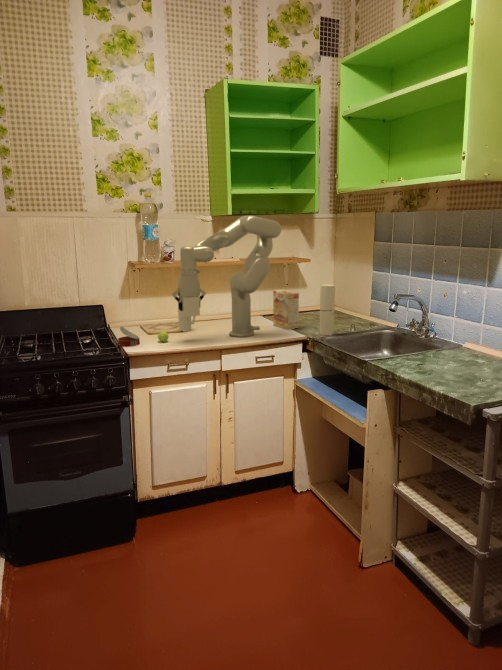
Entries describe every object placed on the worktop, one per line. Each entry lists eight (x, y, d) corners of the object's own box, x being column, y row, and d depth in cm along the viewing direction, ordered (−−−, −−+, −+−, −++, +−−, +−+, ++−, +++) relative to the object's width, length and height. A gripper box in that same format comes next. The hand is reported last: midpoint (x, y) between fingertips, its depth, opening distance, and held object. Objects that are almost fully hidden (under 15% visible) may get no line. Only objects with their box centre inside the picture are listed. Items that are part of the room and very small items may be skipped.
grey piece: (194, 312, 251) (194, 294, 249) (199, 315, 244) (199, 297, 242) (179, 313, 248) (178, 295, 246) (184, 316, 241) (183, 298, 239)
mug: (183, 332, 266) (182, 309, 264) (176, 330, 271) (175, 308, 269) (199, 329, 273) (198, 307, 270) (192, 327, 278) (191, 306, 275)
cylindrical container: (316, 333, 263) (317, 284, 257) (328, 332, 265) (330, 283, 260) (323, 336, 256) (325, 286, 251) (336, 334, 259) (337, 285, 253)
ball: (167, 340, 250) (166, 330, 249) (169, 342, 245) (169, 332, 244) (157, 341, 248) (156, 331, 247) (159, 343, 243) (159, 333, 242)
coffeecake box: (272, 325, 283) (272, 290, 279) (283, 323, 287) (283, 289, 282) (287, 330, 271) (288, 293, 266) (298, 328, 274) (299, 292, 270)
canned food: (127, 351, 248) (132, 331, 250) (142, 352, 242) (147, 332, 244) (109, 344, 239) (115, 324, 242) (124, 345, 233) (129, 324, 236)
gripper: (203, 271, 248) (204, 307, 252) (168, 273, 241) (169, 309, 245) (208, 273, 241) (209, 310, 245) (173, 274, 234) (174, 312, 238)
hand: (189, 309), depth 245 cm, fingers closed on grey piece, 7 cm apart
